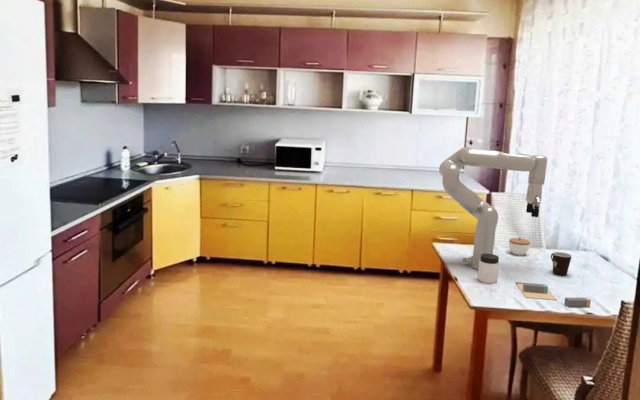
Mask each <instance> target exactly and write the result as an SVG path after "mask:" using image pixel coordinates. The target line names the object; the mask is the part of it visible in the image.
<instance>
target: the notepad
mask: <svg viewBox="0 0 640 400" xmlns="http://www.w3.org/2000/svg"><path fill="white" fill-rule="evenodd" d="M523 283H524V282H522V281H521V282H519V281H515V284H516V286H517V287H518V289H519V290H520V291H521V293H522V294H523V295H524V297H525V299H536V300H539V299H540V300H548V301H549V300H550V301H557V297H555V296H554V295H553V293H552V292H551V291H550V289H548V292H547V293H535V292H524V291H523ZM529 283H530V282H529ZM530 284H535V283H533V282H531V283H530ZM543 285H546V284H545V283H543Z"/></svg>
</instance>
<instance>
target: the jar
mask: <svg viewBox="0 0 640 400" xmlns="http://www.w3.org/2000/svg"><path fill="white" fill-rule="evenodd" d="M499 260H500V257H499V256H498V255H496V254H494V253H493V254H481V258H480V260H479V268H478V269H477V270H478V271H477V277H476V278H477V280H478V281H479V282H481V283H484V282H486V283H485V284H491V283H492V284H494V283H497V282H498V277H499V276H498V275H499V270H500V269H499V268H500V261H499Z"/></svg>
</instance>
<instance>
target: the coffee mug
mask: <svg viewBox="0 0 640 400" xmlns="http://www.w3.org/2000/svg"><path fill="white" fill-rule="evenodd" d="M572 256H573V255H572V254H570V253H566V252H561V251H554V252H553V253H551V254H550V260H551V262H552V274H553V275H554V276H558V277H559V276H560V277H566V276H567V275H568V271H569V267H570V263H571V260H572Z"/></svg>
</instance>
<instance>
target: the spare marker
mask: <svg viewBox="0 0 640 400" xmlns="http://www.w3.org/2000/svg"><path fill="white" fill-rule="evenodd" d="M591 300H592V299H591V298H590V299H589V298H588V297H565V298H564V301H563V302H564V303H563V304H564V306H565V307H568V308H589V307H591Z"/></svg>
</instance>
